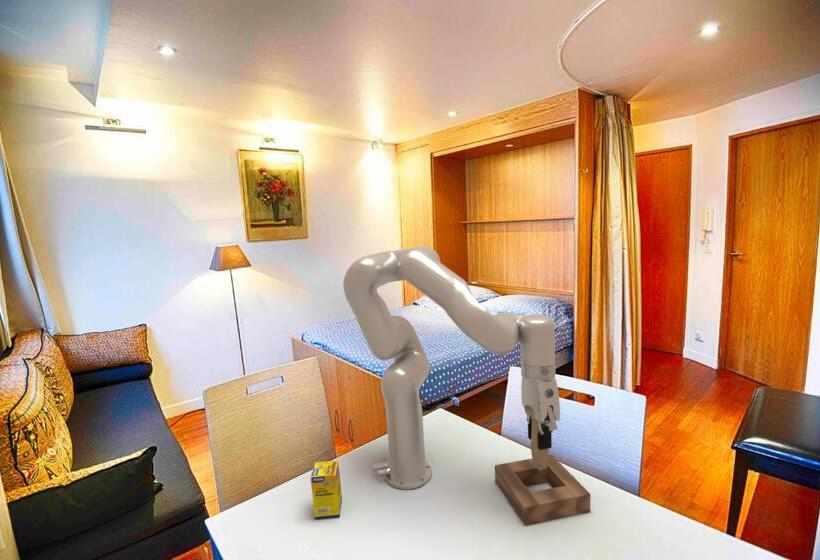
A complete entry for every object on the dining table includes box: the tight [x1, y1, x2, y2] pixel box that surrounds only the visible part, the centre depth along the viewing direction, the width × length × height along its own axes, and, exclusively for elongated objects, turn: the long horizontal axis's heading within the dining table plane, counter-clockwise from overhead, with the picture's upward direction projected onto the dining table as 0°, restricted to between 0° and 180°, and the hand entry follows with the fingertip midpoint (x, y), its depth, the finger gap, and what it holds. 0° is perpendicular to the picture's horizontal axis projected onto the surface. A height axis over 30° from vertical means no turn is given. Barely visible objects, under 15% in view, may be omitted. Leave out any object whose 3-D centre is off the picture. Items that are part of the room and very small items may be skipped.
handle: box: [524, 405, 550, 470], centre depth 95 cm, size 5×6×15 cm
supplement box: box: [310, 460, 343, 521], centre depth 96 cm, size 6×6×11 cm
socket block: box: [494, 454, 591, 527], centre depth 97 cm, size 16×16×4 cm
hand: (539, 442), depth 96 cm, fingers closed on handle, 3 cm apart
